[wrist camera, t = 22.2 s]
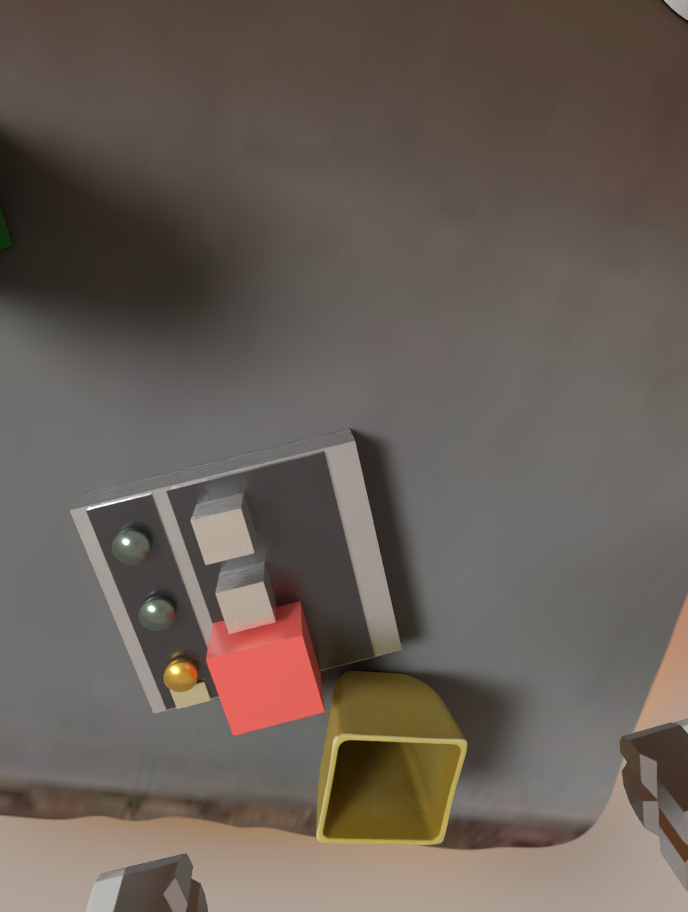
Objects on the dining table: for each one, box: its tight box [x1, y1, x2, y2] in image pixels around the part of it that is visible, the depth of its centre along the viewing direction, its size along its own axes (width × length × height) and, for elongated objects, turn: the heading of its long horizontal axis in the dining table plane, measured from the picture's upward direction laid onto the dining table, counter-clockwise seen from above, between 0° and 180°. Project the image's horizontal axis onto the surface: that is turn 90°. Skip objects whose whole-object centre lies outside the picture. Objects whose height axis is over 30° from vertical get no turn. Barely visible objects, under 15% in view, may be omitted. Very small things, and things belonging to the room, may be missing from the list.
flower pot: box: [316, 671, 468, 845], centre depth 41 cm, size 9×9×9 cm
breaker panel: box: [70, 428, 402, 713], centre depth 38 cm, size 18×16×6 cm
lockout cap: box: [206, 601, 325, 736], centre depth 37 cm, size 6×6×4 cm
